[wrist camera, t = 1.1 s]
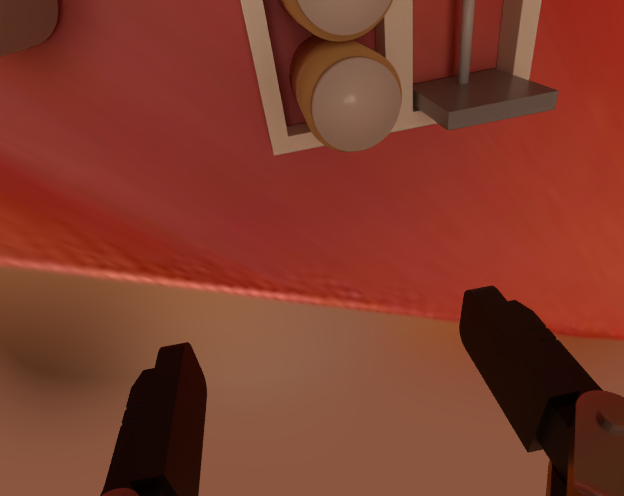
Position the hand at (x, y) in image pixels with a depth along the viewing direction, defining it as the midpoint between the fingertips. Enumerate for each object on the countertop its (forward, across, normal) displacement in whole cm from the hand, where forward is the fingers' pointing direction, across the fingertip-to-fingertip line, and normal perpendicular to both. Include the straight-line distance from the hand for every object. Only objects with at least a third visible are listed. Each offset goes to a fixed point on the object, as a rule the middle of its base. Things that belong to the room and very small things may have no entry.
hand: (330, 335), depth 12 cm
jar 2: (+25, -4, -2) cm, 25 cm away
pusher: (+25, -14, -4) cm, 29 cm away
